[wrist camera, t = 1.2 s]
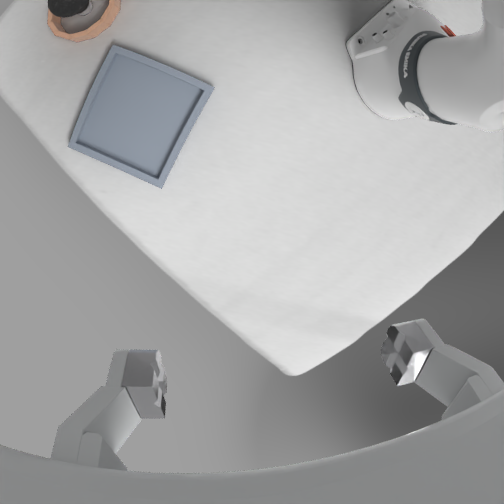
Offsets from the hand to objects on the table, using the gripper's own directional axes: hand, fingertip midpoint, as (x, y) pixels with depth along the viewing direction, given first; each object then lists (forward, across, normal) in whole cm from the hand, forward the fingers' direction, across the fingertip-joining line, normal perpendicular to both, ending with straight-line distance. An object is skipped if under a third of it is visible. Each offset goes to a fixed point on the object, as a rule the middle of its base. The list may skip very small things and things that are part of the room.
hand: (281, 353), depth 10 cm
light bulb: (+38, +20, -25) cm, 50 cm away
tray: (+38, +12, -6) cm, 40 cm away
